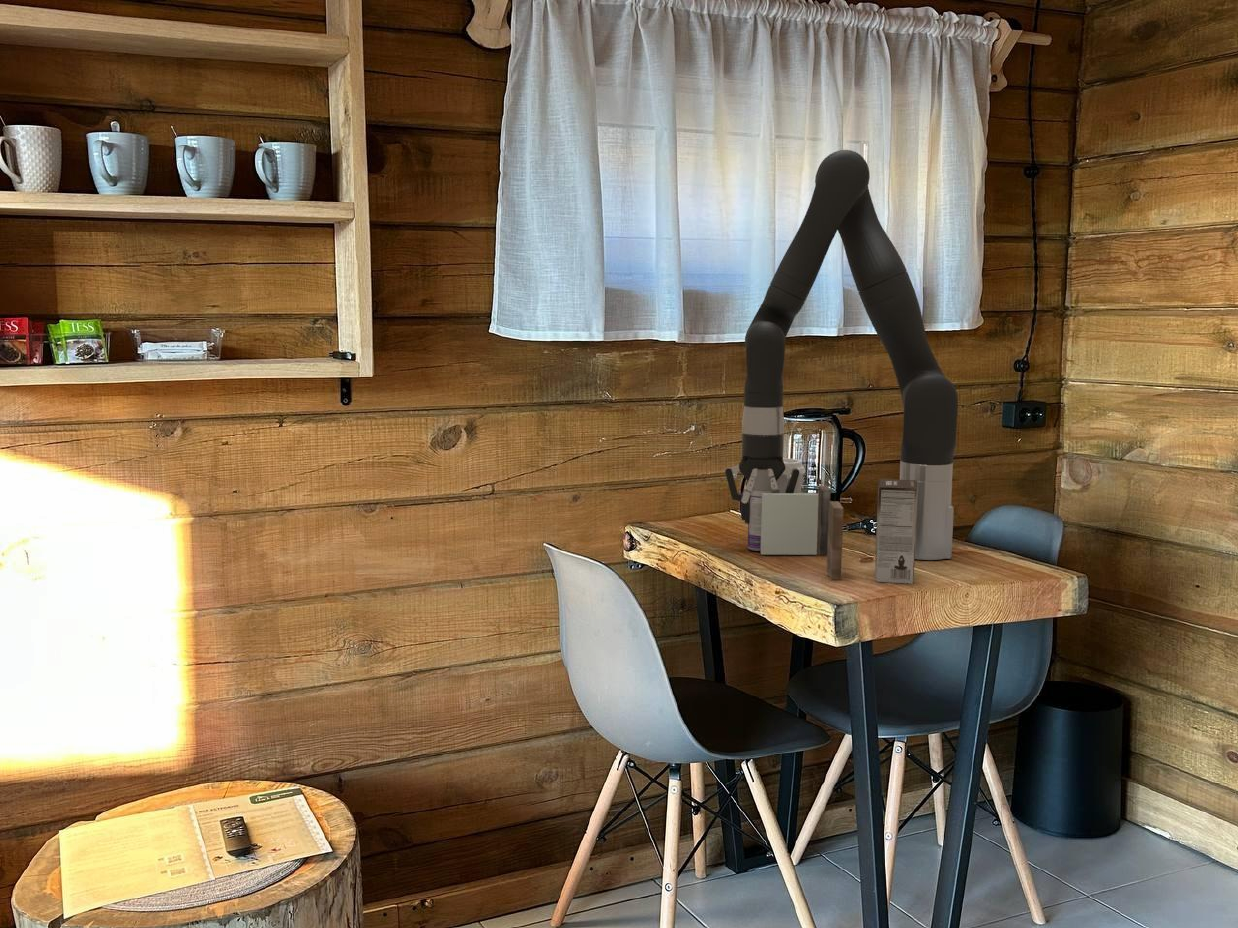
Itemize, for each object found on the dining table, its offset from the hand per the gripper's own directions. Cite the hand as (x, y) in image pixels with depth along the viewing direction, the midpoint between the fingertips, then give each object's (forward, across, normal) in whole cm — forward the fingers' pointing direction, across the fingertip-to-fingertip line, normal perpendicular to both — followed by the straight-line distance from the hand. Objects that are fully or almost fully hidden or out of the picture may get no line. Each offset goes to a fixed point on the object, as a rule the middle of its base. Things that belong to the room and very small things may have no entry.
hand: (760, 522), depth 220 cm
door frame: (+5, -11, +10) cm, 16 cm away
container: (+5, 0, 0) cm, 5 cm away
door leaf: (+5, -5, +4) cm, 8 cm away
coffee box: (+6, -21, +20) cm, 29 cm away
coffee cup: (+5, -4, -14) cm, 15 cm away
